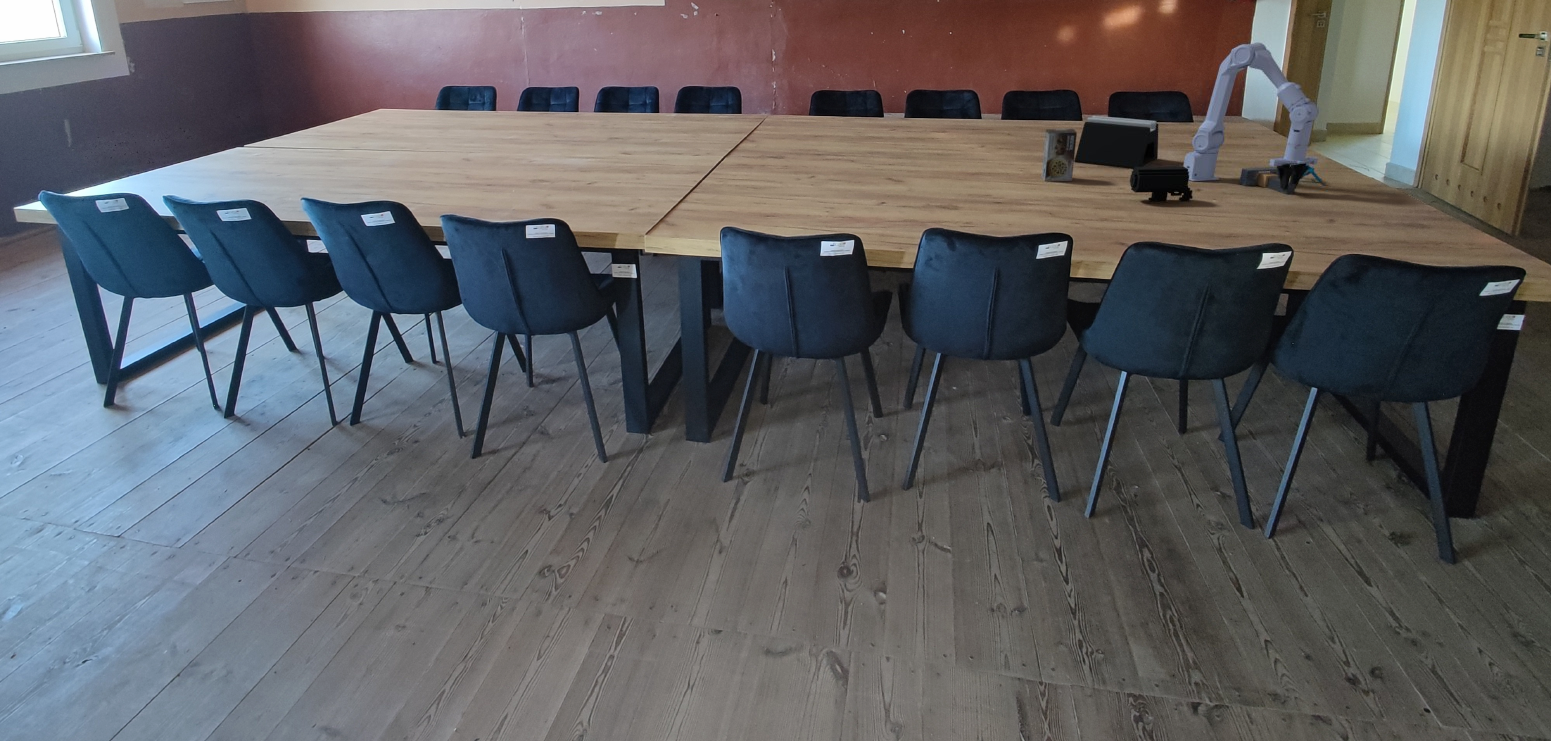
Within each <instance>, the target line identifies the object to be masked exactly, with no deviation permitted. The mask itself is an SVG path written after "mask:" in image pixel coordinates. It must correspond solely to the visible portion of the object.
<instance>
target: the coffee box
mask: <svg viewBox="0 0 1551 741" xmlns="http://www.w3.org/2000/svg"><path fill="white" fill-rule="evenodd" d="M1077 134H1078V132H1077V131H1076V130H1075V129H1074V128H1062V129H1061V128H1059V129H1058V128H1055V129H1053V128H1052V129H1051V128H1048V129H1046V130H1045V137H1044V138H1045V140H1044V148H1043V158H1042V170H1041V178H1042V180H1043V181H1044V182H1072V181H1073V173H1074V163H1075V162H1074V161H1075V156H1076V153H1075V152H1076V143H1077Z"/></svg>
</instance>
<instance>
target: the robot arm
mask: <svg viewBox="0 0 1551 741" xmlns="http://www.w3.org/2000/svg"><path fill="white" fill-rule="evenodd" d="M1248 67H1249V68H1251V69H1255V70H1260V71H1262V73H1263V74H1264V75H1265V76H1266V77H1267V79H1268V80H1270V82H1271V83H1272V84H1273V85H1274V86H1275V88H1276V89H1277V93H1276V97H1277V98H1278V99H1279V100H1280V102H1281V103H1282V105H1284V107H1285V108H1286V110H1287V111H1288V112H1289V115H1288V116H1289V120H1290V122H1291V123H1290V128H1289V133H1288V137H1287V143H1286V147H1285V152H1284V155H1283V157H1279V158H1270V160H1269V167H1277V170H1278V172H1279V176H1280V188H1282V189H1287V187H1288V184H1289V182H1291V183H1294V184H1296V186H1295V189H1296V188H1297V186H1298V185H1299V183H1300V181H1301V179H1303V178H1302V176H1303V175H1304V174H1305V172H1306V171H1307V170H1308V169H1309V166H1310V165H1312V166H1313V165H1315V166H1316V165H1318V160H1319V158H1318V157H1314V156H1311V157H1310V156H1309V157H1308V156H1307V152H1308V148H1309V143H1310V138H1311V133H1312V129H1313V124H1314V120H1316V118H1317V117H1318V116H1319V114H1320V113H1319V107H1318V104H1316V103H1315V102H1313V101H1311V99H1310V97H1308V98H1307V97H1306V95H1305V94H1304V92H1303V91H1302V90H1301V89H1302V86H1301V85H1300V84H1297V83H1296V82H1290V81H1289V80H1288V79H1287V77H1286V76H1285V74H1284V73H1283V71H1282V70H1281V67H1280V66H1279V65H1278V64H1277V62H1276V60H1275V59H1274V57H1273V55H1272V53H1271V51H1270V50H1269V49H1267V46H1266V45H1265V44H1263V43H1262V42H1254V43H1248V44H1247V43H1244V44H1240V45H1237V46H1236V47H1234V48H1232V49H1231V51H1230V53H1229V54H1228V55H1227V56H1226V58H1224V60H1223V61H1222V62H1221V64H1220V65H1219V69H1218V73H1217V77H1216V79H1215V83H1214V87H1213V90H1212V94H1211V97H1210V102H1209V105H1208V109H1207V113H1206V116H1205V119H1204V121H1203V122H1202V124H1201V125H1200V126H1198V130H1197V132H1196V133H1195V135H1194V136H1193V138H1192V142H1191V143H1192V147H1193V149H1194V151H1190V152H1187V154H1185V157H1184V161H1183V166H1184V167H1185V168H1187V169H1188V172H1189V174H1188V175H1189V180H1190V181H1192V182H1199V181H1200V182H1202V181H1203V182H1204V181H1220V178H1219V177H1218V176H1217V177H1216V176H1215V173H1216V167H1217V163H1218V162H1217V161H1218V155H1219V150H1220V148H1221V146H1223V145H1224V142H1225V129H1226V126H1225V124H1224V120H1225V118H1226V117H1225V116H1226V114H1227V113H1226V112H1227V110H1228V107H1229V106H1228V105H1229V102H1230V99H1231V95H1232V91H1233V88H1234V85H1235V81H1236V79H1237V78H1236V77H1237V74H1238V73H1239V72H1241V71H1242V70H1244V69H1246V68H1248ZM1306 164H1308V165H1309V166H1306Z"/></svg>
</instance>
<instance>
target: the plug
mask: <svg viewBox="0 0 1551 741" xmlns="http://www.w3.org/2000/svg"><path fill="white" fill-rule="evenodd" d="M1256 186H1260V187H1262V188H1268V189H1270V190H1274V191H1277V192H1279V193H1282V194H1284V195H1294V194H1295V190H1296V188H1295V186H1296V184H1294V183H1291V182H1290V181H1289V184H1288V187H1287V189H1282V188H1280V179H1279V178H1278V175H1275V174H1272V173H1270V171H1266V172H1259V174H1258V179H1257V184H1256ZM1296 187H1297V186H1296Z"/></svg>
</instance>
